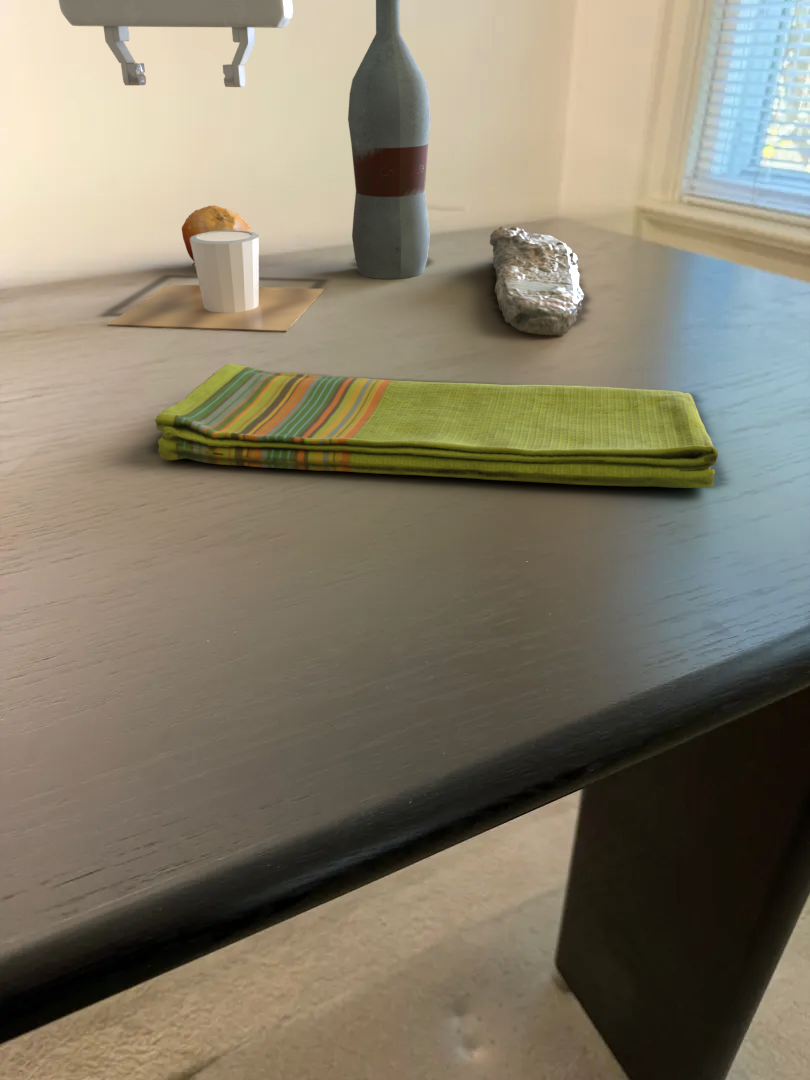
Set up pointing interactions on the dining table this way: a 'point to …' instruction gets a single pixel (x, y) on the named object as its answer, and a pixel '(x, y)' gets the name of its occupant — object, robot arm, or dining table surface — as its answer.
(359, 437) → the dish towel
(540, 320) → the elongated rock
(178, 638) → the dining table surface
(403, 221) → the bottle
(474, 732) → the dining table surface
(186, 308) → the cork mat
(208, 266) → the white cup
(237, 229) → the fruit
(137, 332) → the dining table surface
